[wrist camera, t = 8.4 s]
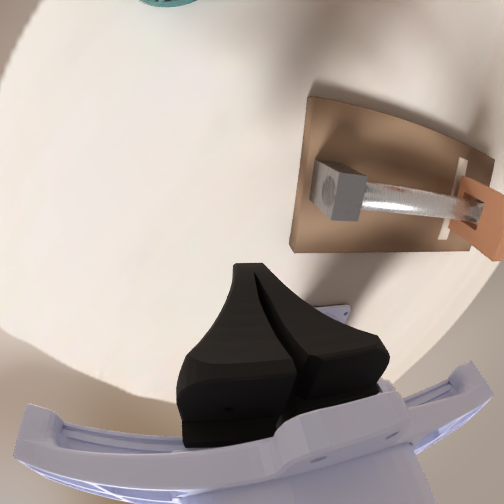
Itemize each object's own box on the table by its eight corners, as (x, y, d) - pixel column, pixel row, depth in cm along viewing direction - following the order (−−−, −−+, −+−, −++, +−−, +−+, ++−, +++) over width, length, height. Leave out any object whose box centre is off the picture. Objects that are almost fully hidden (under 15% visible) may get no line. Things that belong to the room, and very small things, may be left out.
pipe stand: (478, 217, 23) (501, 233, 20) (308, 199, 19) (330, 220, 16) (485, 194, 22) (509, 208, 18) (314, 159, 18) (339, 172, 15)
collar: (459, 228, 22) (502, 260, 17) (447, 227, 22) (492, 261, 16) (473, 179, 20) (521, 205, 14) (461, 175, 19) (512, 201, 14)
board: (461, 245, 27) (469, 251, 25) (288, 244, 23) (294, 253, 21) (486, 156, 21) (495, 159, 20) (307, 97, 17) (315, 96, 16)
